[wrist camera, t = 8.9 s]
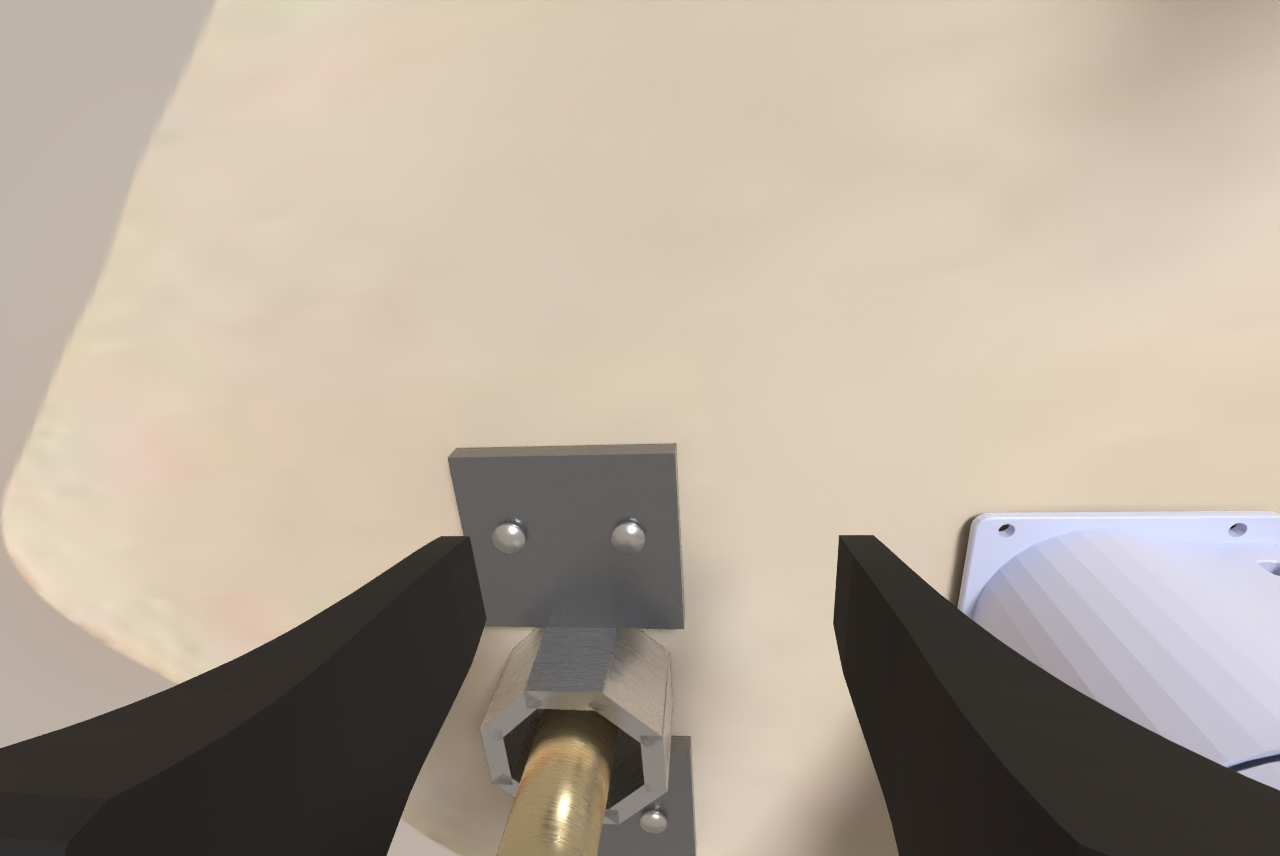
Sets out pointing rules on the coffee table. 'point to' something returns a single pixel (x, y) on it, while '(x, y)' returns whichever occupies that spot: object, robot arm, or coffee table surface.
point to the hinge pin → (563, 787)
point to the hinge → (586, 617)
